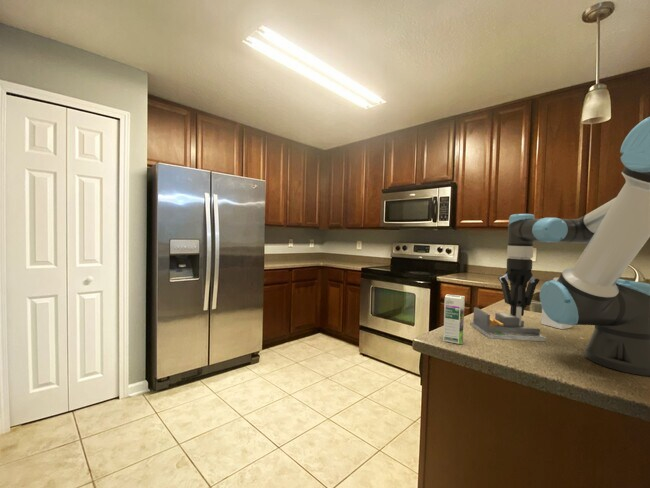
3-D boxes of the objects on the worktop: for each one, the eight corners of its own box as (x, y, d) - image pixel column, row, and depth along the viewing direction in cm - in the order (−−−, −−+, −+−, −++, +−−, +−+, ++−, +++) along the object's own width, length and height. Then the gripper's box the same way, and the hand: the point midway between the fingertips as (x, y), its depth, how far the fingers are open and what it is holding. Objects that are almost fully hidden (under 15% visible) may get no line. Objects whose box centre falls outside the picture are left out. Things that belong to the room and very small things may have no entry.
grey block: (518, 331, 100) (519, 317, 100) (503, 330, 101) (504, 317, 101) (509, 325, 106) (509, 313, 106) (494, 324, 107) (495, 312, 107)
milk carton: (540, 324, 115) (543, 276, 114) (551, 322, 118) (553, 275, 117) (561, 329, 109) (564, 279, 108) (572, 327, 112) (575, 278, 111)
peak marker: (504, 334, 97) (504, 323, 97) (499, 333, 97) (499, 323, 97) (489, 325, 107) (490, 315, 106) (485, 324, 107) (485, 315, 107)
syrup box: (442, 341, 93) (444, 296, 92) (444, 336, 98) (446, 293, 97) (462, 345, 90) (464, 298, 90) (463, 339, 95) (465, 295, 95)
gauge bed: (546, 341, 96) (547, 319, 95) (488, 338, 97) (489, 316, 97) (519, 326, 111) (520, 308, 110) (470, 324, 112) (471, 305, 112)
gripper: (532, 257, 106) (528, 322, 107) (494, 256, 107) (492, 320, 107) (546, 259, 98) (542, 328, 99) (506, 258, 99) (503, 326, 100)
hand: (516, 324), depth 103 cm, fingers closed
